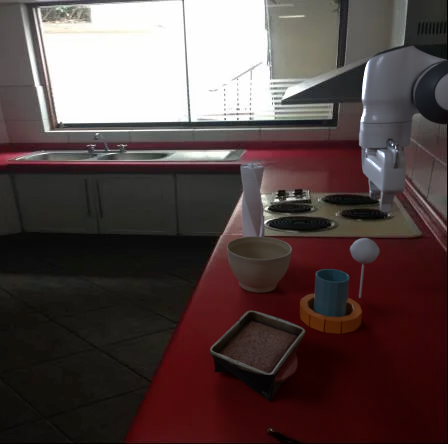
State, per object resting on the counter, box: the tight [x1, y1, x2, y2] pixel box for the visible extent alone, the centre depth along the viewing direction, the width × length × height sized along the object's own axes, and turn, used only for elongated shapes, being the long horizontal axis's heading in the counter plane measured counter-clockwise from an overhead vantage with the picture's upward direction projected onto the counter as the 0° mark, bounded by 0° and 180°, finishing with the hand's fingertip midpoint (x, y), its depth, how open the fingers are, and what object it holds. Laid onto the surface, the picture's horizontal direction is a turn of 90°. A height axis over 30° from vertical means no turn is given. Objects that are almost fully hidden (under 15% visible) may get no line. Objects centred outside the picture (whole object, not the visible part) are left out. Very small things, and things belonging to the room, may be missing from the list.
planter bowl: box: [226, 236, 293, 294], centre depth 108 cm, size 16×16×11 cm
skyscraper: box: [240, 159, 265, 237], centre depth 134 cm, size 8×8×28 cm
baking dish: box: [209, 310, 306, 403], centre depth 76 cm, size 14×18×10 cm
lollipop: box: [349, 237, 380, 299], centre depth 98 cm, size 6×6×15 cm
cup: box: [312, 268, 351, 317], centre depth 92 cm, size 7×7×10 cm
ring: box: [299, 293, 363, 335], centre depth 92 cm, size 12×12×3 cm
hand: (379, 204), depth 85 cm, fingers open, 8 cm apart
